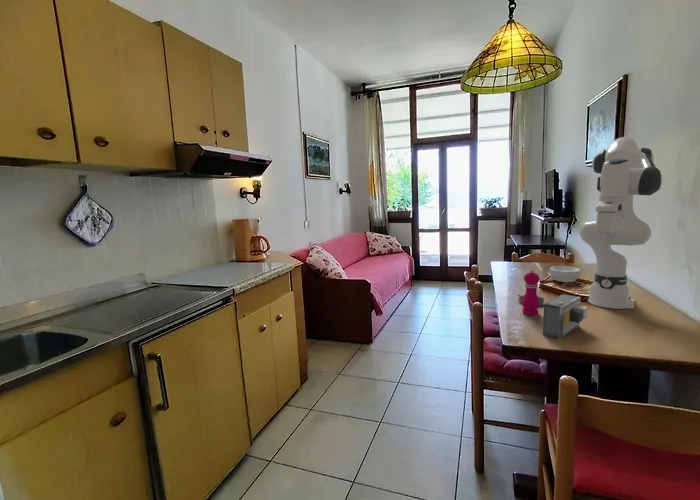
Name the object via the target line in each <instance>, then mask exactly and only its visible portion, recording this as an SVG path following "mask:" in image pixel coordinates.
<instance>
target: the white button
mask: <svg viewBox="0 0 700 500" xmlns="http://www.w3.org/2000/svg"><path fill="white" fill-rule="evenodd" d="M588 308H589V307H588V306H584V305H580V306H579V305H577V306H576V307H575V309H578V310H583V314H582V320H585V319H586V318H588Z"/></svg>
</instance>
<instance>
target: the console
mask: <svg viewBox="0 0 700 500" xmlns="http://www.w3.org/2000/svg"><path fill="white" fill-rule="evenodd" d="M581 300H582V298H581V296H578V295H577V296H576V295H570V294H564V293H562V294H560V295H558V296H557V297H554V298H552V299H551V300H549V301H547V302H545V303H544V305H543V322H542V335H543V336H548V337H551V338H556V339H558V340H563V339H564V338H566V337H567V336H568V335H570V334H571V333H573V332H574V331H575V330H576V329H577V328H579V327H580V323H576V322H571V321H569V323H568V324H567V325H564V314H565V313H566V312H570V310H571V309H572V308H573V309H575V307H576V306H577V305H579V306H581ZM569 317H570V316H569Z"/></svg>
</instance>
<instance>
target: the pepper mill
mask: <svg viewBox="0 0 700 500" xmlns="http://www.w3.org/2000/svg"><path fill="white" fill-rule="evenodd" d="M523 280H524V282H525V283H524V284H525V285H524V287H525V289H526V290H525V294H524V295H525V296H524V295H523V296H524V297H523V299H522V303H521V306H522V314H524V315H527V316H533V317H535V316H538V315H539V307H540V306H541V305H540V302H539V299H538V297H539V296H538V295H537V288H538V287H539V284H538V283H539V282H540V276H539V274H537V273H536V272H535V269H533V268H531V269H529V272H527V273H525V275H524V276H523ZM537 296H538V297H537Z"/></svg>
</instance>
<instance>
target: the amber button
mask: <svg viewBox="0 0 700 500" xmlns="http://www.w3.org/2000/svg"><path fill="white" fill-rule="evenodd" d="M569 316H570V312H566V313H565V314H564V325H567V324H568V323H569Z"/></svg>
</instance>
